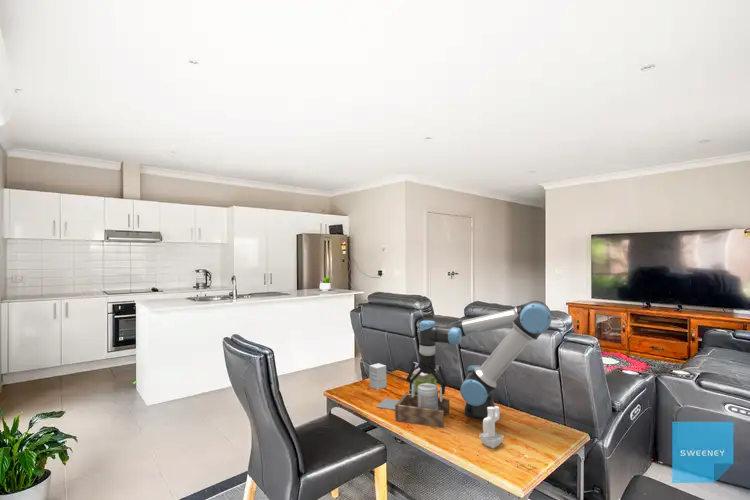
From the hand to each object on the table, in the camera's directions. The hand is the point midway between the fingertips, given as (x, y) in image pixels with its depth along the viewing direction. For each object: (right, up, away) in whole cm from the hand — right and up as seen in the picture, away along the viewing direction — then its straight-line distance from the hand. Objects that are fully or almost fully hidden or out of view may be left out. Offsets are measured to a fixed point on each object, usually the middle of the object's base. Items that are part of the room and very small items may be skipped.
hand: (427, 398), depth 181 cm
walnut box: (-1, -9, 0) cm, 9 cm away
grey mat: (-16, -9, +16) cm, 24 cm away
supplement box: (-23, -10, +43) cm, 49 cm away
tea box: (+1, -10, +25) cm, 27 cm away
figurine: (+22, -8, -27) cm, 36 cm away
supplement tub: (0, -9, 0) cm, 9 cm away
